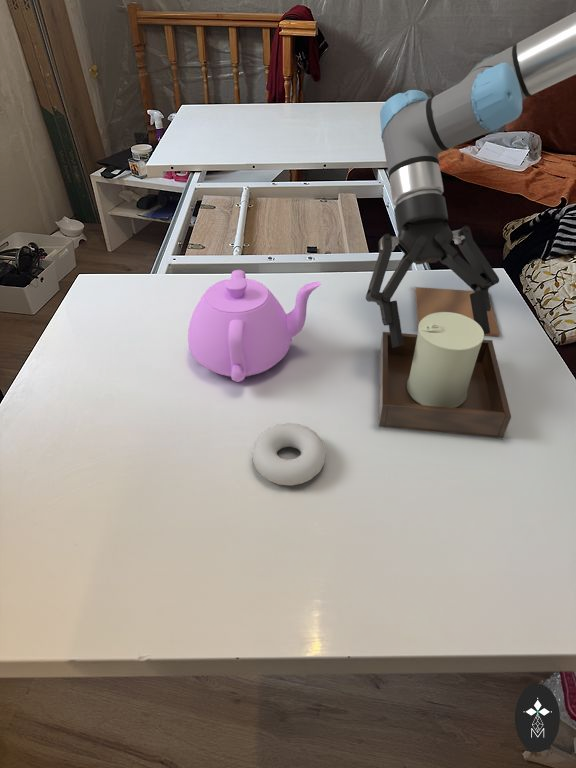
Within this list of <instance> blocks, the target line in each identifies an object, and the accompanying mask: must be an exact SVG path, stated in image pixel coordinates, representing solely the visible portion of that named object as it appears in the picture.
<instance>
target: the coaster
mask: <svg viewBox="0 0 576 768" xmlns="http://www.w3.org/2000/svg"><path fill="white" fill-rule="evenodd" d="M414 293H415V294H414V296H415V308H416V309H415V310H416V319H417V328H418V327H419V323H420V321H421V320H422V319H423V318H424V317H426V316H427V315H430V314H433V313H438V312H451V313H457V314H461V315H464V316H466V317H469V318H471V319H472V320H474V318H473V312H472V306H471V299H470V294H472V293H474V291H473V290H464V289H449V288H435V287H433V288H432V287H421V286H415V287H414ZM490 298H491V297H489V299H490ZM490 300H491V299H490ZM490 305H491V309H490V311H488V312H487V316H488V322H489V328H490V333H489V334H485V335H484V337H493V338H494V337H495V338H499V336H500V332H499V328H498V324H497V320H496V317H495V314H494V309H493V306H492V303H491V301H490Z"/></svg>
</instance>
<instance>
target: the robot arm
mask: <svg viewBox="0 0 576 768" xmlns="http://www.w3.org/2000/svg"><path fill="white" fill-rule="evenodd" d="M573 76H576V11H575V12H573V13H571V14H569V15H567V16H565V17H563V18H561V19H560V20H558V21H556V22H554V23H552V24H550V25H549V26H547V27H545V28H543V29H541V30H540V31H539V30H538V32H535V33H534V34H532V35H530V36H528V37H526V38H524V39H523V40H520V41H519V42H517V43H516V44H515V45H512V46H510V47H508V48H506V49H504V50H502V51H500V52H499V53H496V54H491V55H489V56H487V57H485V58H484V59H482V60H480V61H478V63H476V64H475V66H474V67H473V68H472V69H471V71H470V72H469V73H468V74H467V75H466V76H465V77H464V78H463V79H462V80H461V82H459V83H457V84H455V85H453V86H452V87H450V88H448V89H446V90H444V91H442V92H440V93H439V94H436V95H434V96H432V97H430V98H429V96H428V94H427V93H425V92H424V91H422V90H419V89H408V90H407V91H405V92H399V93H396V94H394V95H392V96H391V97H389V98H388V99H387V100H386V101H385V102H384V103H383V105H382V106H381V108H380V112H379V119H380V130H381V133H380V136H381V137H380V138H381V142H382V144H383V150H384V156H385V161H386V162H385V163H386V167H387V171H388V172H387V173H388V182H389V188H390V193H391V200H392V204H393V205H394V206H395V207H394V209H393V213H394V220H395V226H396V230H397V236H392V235H391V234H390V233H385V234H384V235H383V236H382V237H381V238H380V239H379V241H378V256H377V258H376V262H375V266H374V269H373V272H372V275H371V278H370V281H369V285H368V288H367V291H366V294H365V300H366V301H367V302H368V303H371V302H372V303H376V305H377V306H379V310H380V316H381V317H380V318H381V322H382V324H383V326H388V329H389V332H390V336H391V343H392V348H395V347H399V346H402V345H404V344H403V337H402V333H403V332H402V327H401V319H400V313H399V307H398V301H397V300H391V299H392V298H393V295H394V294H395V293H396V291H397V289H398V287H399V286H400V284H401V283H402V281H403V280H404V278H405V276H406V274H407V272H408V271H409V270H410V267H411V266H412V265H413V264H415V265H417V266H419V265H423V264H425V263H427V264H434V263H435V264H436V263H437V262H438V261H439V262H440V263H441V264H442V265H445V266H447V268H448V269H450V271H451V272H452V273H454V274H455V275H456V276H457V277H458V278H459V279H460V280H462V281H463V283H464V284H465V285H467V286H468V287H469V288H470V289H471V291H474V293H472V294H470V299H471V306H472V312H473V318H474V321H475V322H477V323H478V324H479V325H480V326H481V328H482V329H483V331H484V335H485V334H489V333H490V328H489V322H488V316H487V312H488V311H490V309H491V306H492V304H491V305H490V302H491V299H489V298H490V294H489V289H490V288H491V287H494V286H495V285H497V284H498V283H500V278H499V276H498V274H497V272H495V270H494V268H493V267H492V266H491V264H490V263H489V261H488V260H487V258H486V256H485V255H484V253H483V252H482V250H481V249H480V248H479V246H478V244H477V243H476V242H475V240H474V238H473V233H472V230H471V227H470V226H468V225H464V226H463V227H462V228H460V229H455V230H451V228H450V226H449V215H448V209H447V203H446V198H445V196H444V195H443V194H444V192H445V189H444V183H443V177H442V173H441V167H440V166H441V165H440V161H439V154H441V153H444V152H446V151H449V150H450V149H452V148H454V147H457V146H459V145H461V144H462V145H463V144H464V143H466V142H468V141H471V140H473V139H476V138H479V137H481V136H483V135H485V134H488V133H490V132H493V131H498V130H500V129H501V128H502V127H504V126H506V125H508V124H509V123H511V122H514V121H516V120H517V119H518V118H519V117H520V116H521V114H522V112H523V101H524V100H525V99H527V98H529V97H531V96H533V95H535V94H536V93H539V92H541V91H543V90H546V89H548V88H549V87H552V86H553V85H556V84H558V83H560V82H562V81H565V80H567V79H568V78H571V77H573ZM452 241H454V244H455V245H457V246H458V248H459V250H460V252H461V253H462V255H463V256H464V258H465V259H466V260H464V258H463V257H461V256H460V254H459V252H458V250H457V249H456V248H455V247H454V246H452V244H451V243H452ZM396 247H398V249H399V250H400V251H401V252H402V253H403V256H402V258H401V259H400V261H399V263H398V264H397V267H396V268H395V270H394V272H393V273H392V275H391V277H390V278H389V280H388V282H387V284H386V285H385V287H384V289H383V290H382V292H381V288H382V285H383V281H384V278H385V275H386V272H387V270H388V266H389V262H390V260H391V256H392V252H393V251H394V250H395V249H396Z"/></svg>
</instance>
